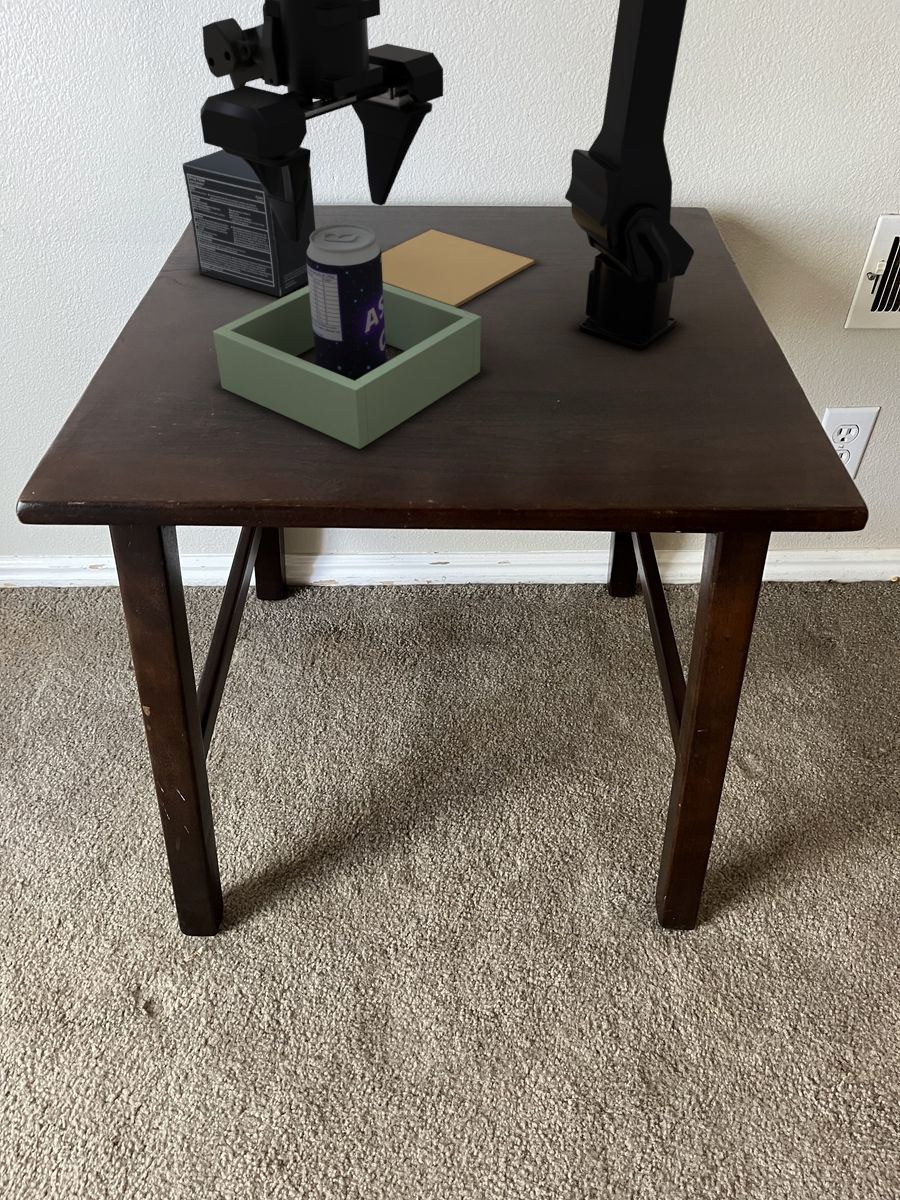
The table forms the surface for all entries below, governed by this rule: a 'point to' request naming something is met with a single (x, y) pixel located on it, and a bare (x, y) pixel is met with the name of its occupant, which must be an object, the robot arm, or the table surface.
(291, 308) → the frame
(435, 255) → the mat
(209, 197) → the small box
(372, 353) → the beverage can
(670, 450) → the table surface
